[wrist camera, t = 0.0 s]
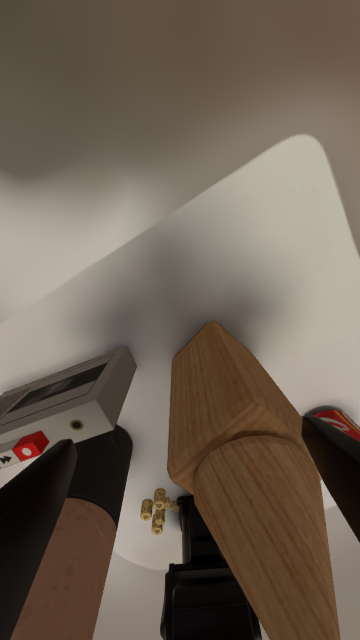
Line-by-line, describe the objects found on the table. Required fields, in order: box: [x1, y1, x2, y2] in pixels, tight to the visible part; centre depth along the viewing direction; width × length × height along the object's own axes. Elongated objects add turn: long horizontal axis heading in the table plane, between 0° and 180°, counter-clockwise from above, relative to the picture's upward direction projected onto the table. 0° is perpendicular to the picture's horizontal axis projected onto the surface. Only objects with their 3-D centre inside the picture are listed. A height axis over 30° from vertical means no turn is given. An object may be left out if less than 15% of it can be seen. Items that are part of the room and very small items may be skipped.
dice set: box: [140, 488, 179, 535], centre depth 29 cm, size 5×5×2 cm
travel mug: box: [10, 425, 132, 640], centre depth 17 cm, size 8×8×20 cm
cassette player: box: [0, 346, 137, 469], centre depth 19 cm, size 16×3×10 cm, turn 112°
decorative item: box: [167, 321, 340, 640], centre depth 14 cm, size 7×7×20 cm
